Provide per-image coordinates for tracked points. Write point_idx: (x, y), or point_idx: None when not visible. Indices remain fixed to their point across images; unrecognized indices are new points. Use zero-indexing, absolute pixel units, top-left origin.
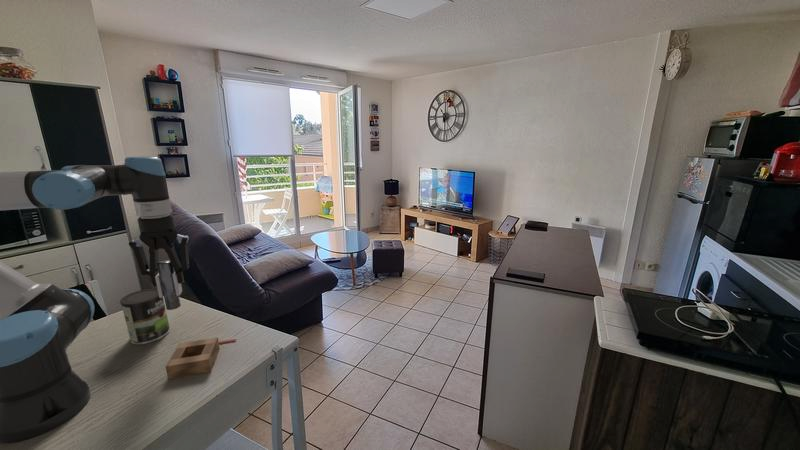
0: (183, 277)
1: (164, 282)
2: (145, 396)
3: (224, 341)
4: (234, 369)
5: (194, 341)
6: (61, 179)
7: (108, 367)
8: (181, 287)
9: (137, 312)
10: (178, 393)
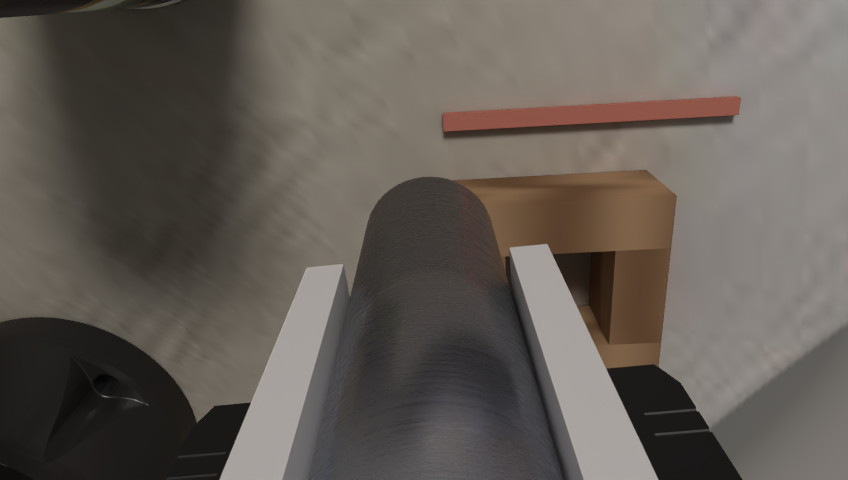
0: (700, 427)
1: None
2: None
3: (670, 112)
4: (737, 350)
5: (538, 210)
6: None
7: (102, 203)
8: (560, 279)
9: (1, 17)
10: None
